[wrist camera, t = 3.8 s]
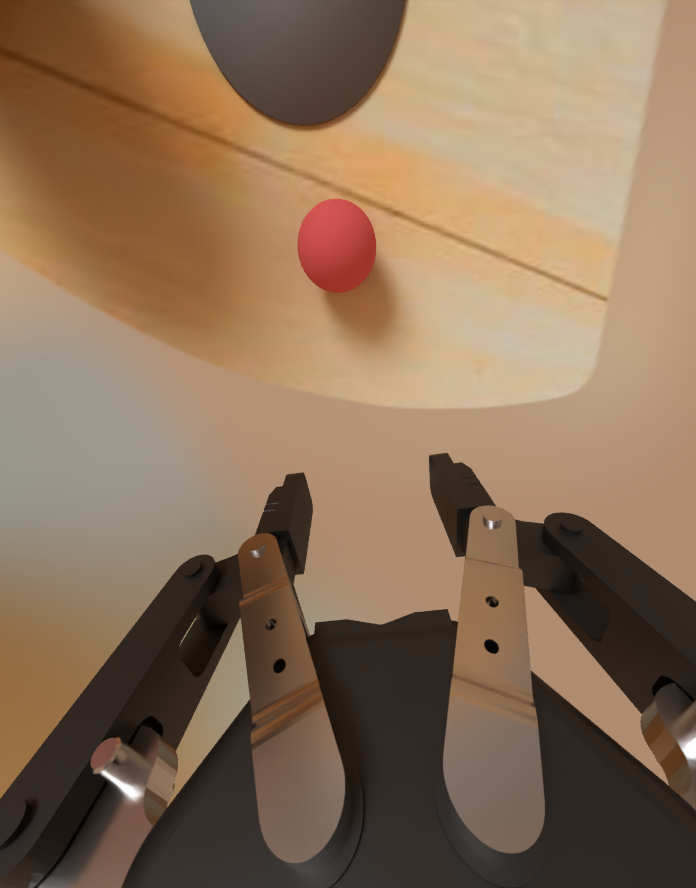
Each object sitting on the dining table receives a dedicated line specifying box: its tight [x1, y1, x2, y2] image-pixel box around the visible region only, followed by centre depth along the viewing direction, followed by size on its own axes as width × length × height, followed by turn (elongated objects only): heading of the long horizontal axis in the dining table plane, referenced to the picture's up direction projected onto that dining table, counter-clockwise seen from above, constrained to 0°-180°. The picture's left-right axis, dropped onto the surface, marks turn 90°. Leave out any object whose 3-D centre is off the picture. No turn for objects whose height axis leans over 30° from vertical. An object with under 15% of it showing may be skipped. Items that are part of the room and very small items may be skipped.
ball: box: [298, 199, 376, 293], centre depth 22 cm, size 6×6×6 cm
